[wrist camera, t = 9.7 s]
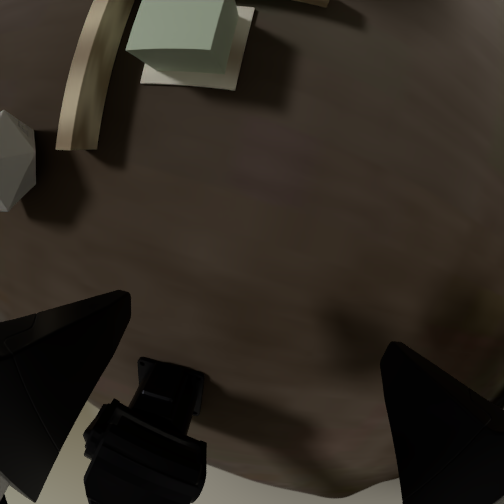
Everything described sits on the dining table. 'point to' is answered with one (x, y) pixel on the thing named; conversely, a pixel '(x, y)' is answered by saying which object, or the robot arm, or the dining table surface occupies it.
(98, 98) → the wooden corner guide
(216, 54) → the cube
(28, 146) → the die
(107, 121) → the dining table surface
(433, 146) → the dining table surface
